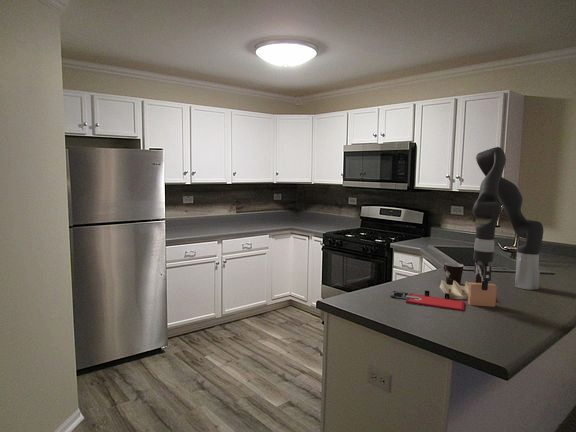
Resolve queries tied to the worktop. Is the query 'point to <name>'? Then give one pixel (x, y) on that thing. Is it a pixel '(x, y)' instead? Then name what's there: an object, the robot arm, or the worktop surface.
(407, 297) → the red board with handle
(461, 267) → the coffee mug
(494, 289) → the tile
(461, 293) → the dish rack
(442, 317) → the worktop surface
